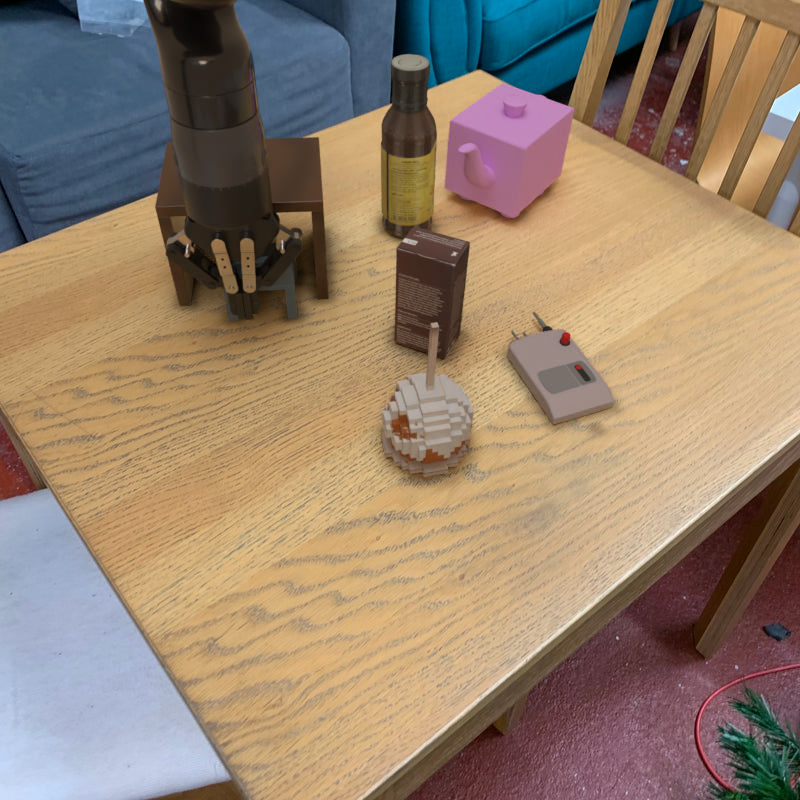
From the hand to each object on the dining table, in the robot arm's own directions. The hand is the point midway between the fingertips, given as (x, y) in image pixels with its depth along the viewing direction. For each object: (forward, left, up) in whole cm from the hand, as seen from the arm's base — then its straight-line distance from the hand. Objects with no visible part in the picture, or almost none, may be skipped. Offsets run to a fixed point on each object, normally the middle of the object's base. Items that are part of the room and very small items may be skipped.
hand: (246, 314), depth 77 cm
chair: (+1, +6, -3) cm, 7 cm away
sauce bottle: (+18, +19, -3) cm, 26 cm away
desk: (0, +12, -3) cm, 12 cm away
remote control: (+30, -7, -3) cm, 31 cm away
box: (+18, -1, -3) cm, 19 cm away
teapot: (+30, +24, -3) cm, 39 cm away
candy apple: (+16, -15, -3) cm, 23 cm away
